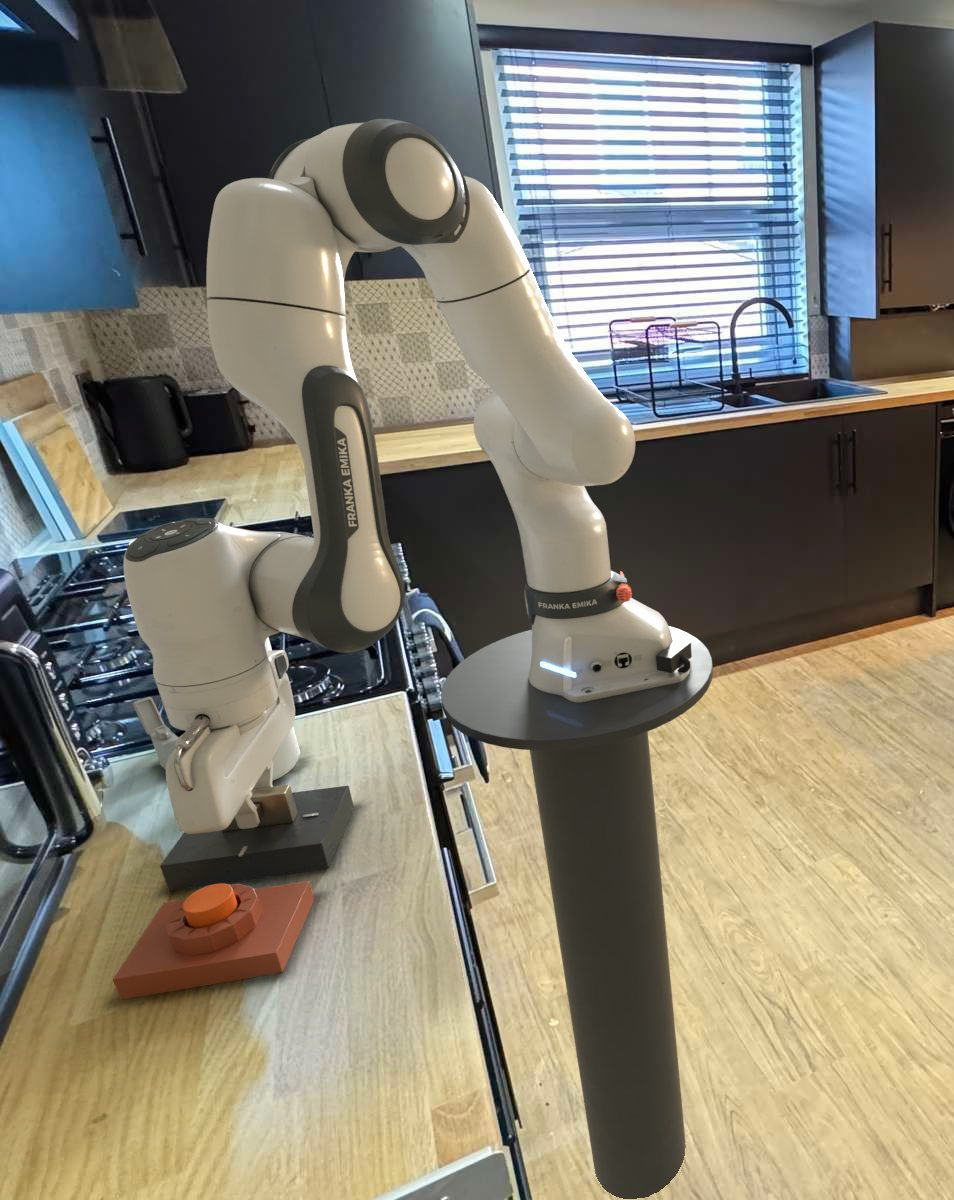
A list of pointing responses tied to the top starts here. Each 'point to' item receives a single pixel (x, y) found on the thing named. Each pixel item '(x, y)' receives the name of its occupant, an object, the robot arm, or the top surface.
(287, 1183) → the top surface
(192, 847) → the control panel
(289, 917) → the button block
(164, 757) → the lighter
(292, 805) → the beige rectangular block
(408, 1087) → the top surface
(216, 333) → the robot arm
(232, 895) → the button
